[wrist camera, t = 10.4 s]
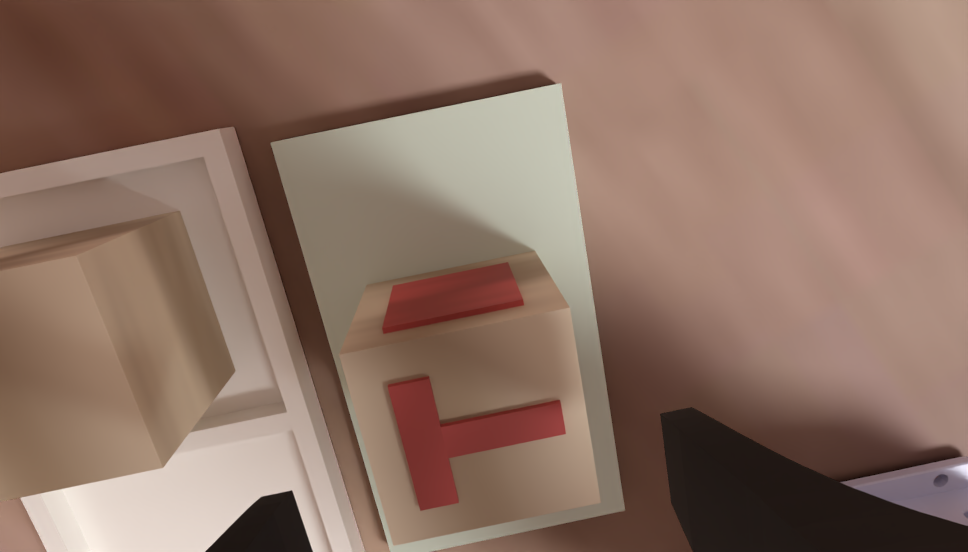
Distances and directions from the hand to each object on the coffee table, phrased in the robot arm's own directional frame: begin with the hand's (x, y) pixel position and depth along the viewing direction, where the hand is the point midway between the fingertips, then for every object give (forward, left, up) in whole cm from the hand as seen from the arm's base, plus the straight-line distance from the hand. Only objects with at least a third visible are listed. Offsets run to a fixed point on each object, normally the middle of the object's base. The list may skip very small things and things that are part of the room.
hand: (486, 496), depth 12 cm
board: (0, 0, -8) cm, 8 cm away
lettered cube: (0, 0, -7) cm, 7 cm away
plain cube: (+10, -3, -7) cm, 13 cm away
